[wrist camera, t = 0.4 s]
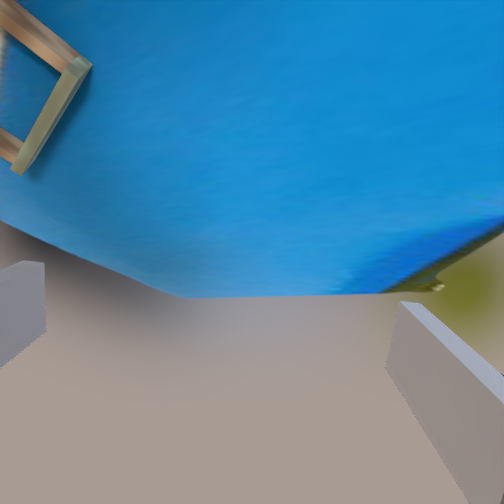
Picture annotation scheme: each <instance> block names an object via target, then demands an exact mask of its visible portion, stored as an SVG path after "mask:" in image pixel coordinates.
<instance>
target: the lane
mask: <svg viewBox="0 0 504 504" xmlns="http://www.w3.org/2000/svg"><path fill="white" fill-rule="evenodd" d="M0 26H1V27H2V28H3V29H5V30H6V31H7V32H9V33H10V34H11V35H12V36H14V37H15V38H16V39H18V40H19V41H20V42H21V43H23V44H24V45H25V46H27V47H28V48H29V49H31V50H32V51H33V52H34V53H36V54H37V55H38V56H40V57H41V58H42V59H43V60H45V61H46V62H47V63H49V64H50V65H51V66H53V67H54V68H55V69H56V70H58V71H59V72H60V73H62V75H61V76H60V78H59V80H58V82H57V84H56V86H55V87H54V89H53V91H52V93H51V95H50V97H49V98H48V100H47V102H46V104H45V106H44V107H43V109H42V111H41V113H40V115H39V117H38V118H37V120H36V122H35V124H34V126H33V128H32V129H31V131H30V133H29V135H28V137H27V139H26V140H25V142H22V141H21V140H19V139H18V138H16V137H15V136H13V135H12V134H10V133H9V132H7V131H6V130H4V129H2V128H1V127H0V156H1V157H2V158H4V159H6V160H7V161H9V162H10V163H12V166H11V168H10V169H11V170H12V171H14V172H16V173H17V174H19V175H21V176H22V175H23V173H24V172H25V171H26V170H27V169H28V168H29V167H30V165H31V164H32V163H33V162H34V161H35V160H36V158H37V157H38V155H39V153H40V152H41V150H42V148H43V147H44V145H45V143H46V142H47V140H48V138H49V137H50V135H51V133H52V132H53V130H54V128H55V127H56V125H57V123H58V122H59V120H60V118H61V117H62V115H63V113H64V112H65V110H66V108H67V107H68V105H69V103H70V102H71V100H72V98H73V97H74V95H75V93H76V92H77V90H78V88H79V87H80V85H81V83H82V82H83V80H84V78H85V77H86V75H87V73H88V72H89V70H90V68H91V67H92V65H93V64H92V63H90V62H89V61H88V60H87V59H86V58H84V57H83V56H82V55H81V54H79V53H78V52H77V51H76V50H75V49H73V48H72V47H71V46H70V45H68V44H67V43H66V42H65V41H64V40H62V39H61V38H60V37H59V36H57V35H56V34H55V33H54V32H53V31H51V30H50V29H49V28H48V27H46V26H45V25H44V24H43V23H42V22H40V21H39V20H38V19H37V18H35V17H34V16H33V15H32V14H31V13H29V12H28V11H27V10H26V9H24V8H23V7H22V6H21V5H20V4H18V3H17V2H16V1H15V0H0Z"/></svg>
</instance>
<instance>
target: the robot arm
mask: <svg viewBox="0 0 504 504" xmlns="http://www.w3.org/2000/svg"><path fill="white" fill-rule="evenodd" d="M44 271H45V270H44V263H42V262H32V261H24V260H23V261H21V262H19V263H16V264H14V265H11V266H9V267H7V268H4V269H2V270H0V368H2V367H3V366H4V365H5V364H6V363H8V362H9V361H10V360H11V359H13V358H14V357H15V356H16V355H18V354H19V353H20V352H21V351H23V350H24V349H25V348H26V347H28V346H29V345H30V344H31V343H33V342H34V341H35V340H36V339H37V338H39V337H40V336H41V335H42V334H44V333H45V332H46V309H45V273H44ZM385 368H386V370H387V371H388V373H389V375H390V376H391V378H392V379H393V381H394V383H395V384H396V386H397V387H398V389H399V391H400V392H401V394H402V396H403V397H404V399H405V401H406V402H407V404H408V405H409V407H410V409H411V410H412V412H413V413H414V415H415V417H416V418H417V420H418V421H419V423H420V425H421V426H422V428H423V430H424V431H425V433H426V435H427V436H428V438H429V439H430V441H431V443H432V444H433V446H434V447H435V449H436V451H437V452H438V454H439V456H440V457H441V459H442V460H443V462H444V464H445V465H446V467H447V468H448V470H449V472H450V473H451V475H452V477H453V478H454V480H455V481H456V483H457V485H458V486H459V488H460V490H461V491H462V493H463V494H464V496H465V498H466V499H467V501H468V503H469V504H504V375H503V374H501V373H499V372H498V371H497V370H496V369H495V368H494V367H492V366H491V365H490V364H489V363H488V362H487V361H485V360H484V359H483V358H482V357H481V356H480V355H478V354H477V353H476V352H475V351H474V350H473V349H472V348H470V347H469V346H468V345H467V344H466V343H465V342H464V341H463V340H461V339H460V338H459V337H458V336H457V335H456V334H455V333H453V332H452V331H451V330H450V329H449V328H447V326H445V325H444V324H443V323H442V322H441V321H440V320H439V319H437V318H436V317H435V316H434V315H433V314H432V313H430V312H429V311H428V310H427V309H426V308H425V307H424V306H422V305H421V304H420V303H412V302H402V301H400V302H399V306H398V311H397V315H396V320H395V324H394V329H393V334H392V338H391V343H390V348H389V352H388V357H387V361H386V367H385Z"/></svg>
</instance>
